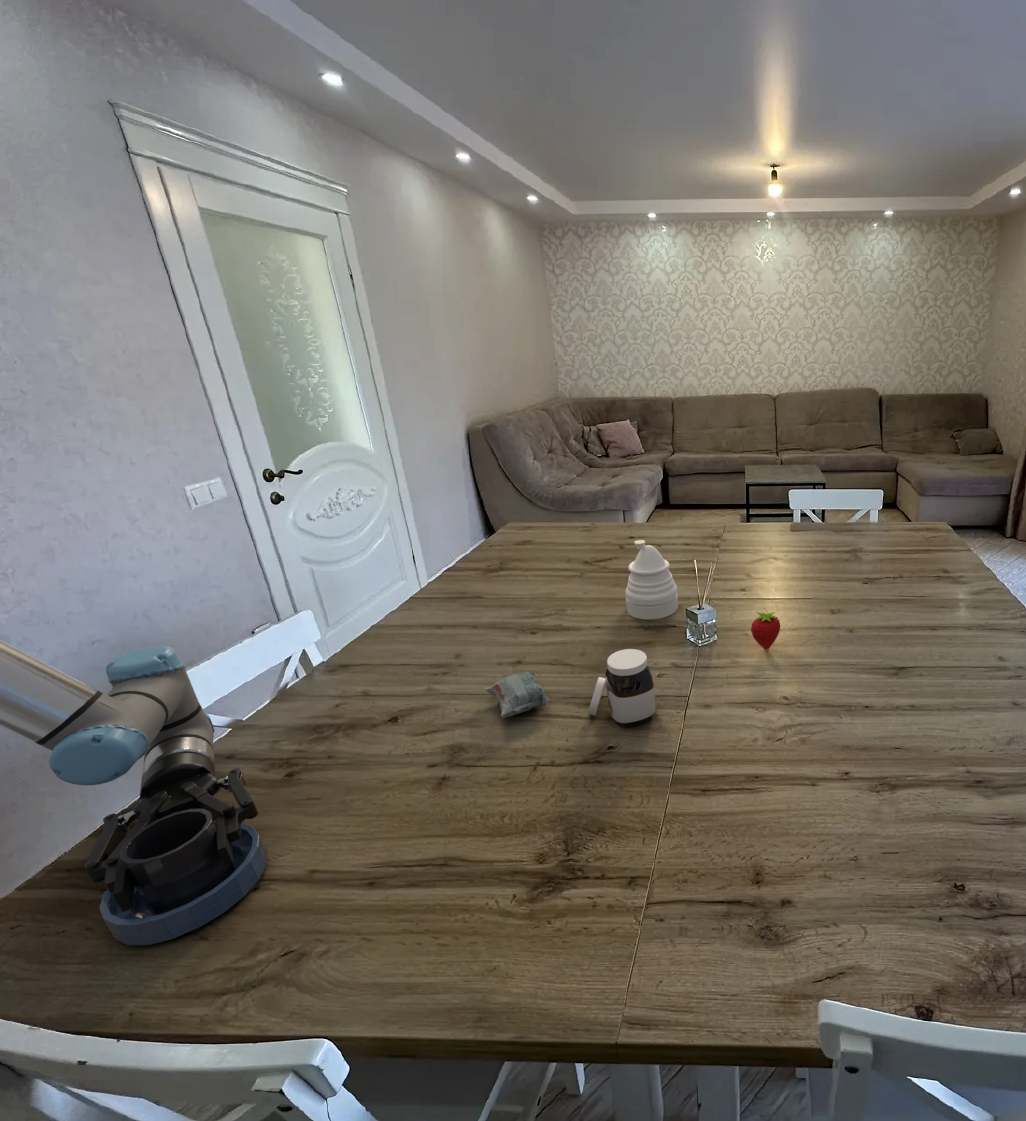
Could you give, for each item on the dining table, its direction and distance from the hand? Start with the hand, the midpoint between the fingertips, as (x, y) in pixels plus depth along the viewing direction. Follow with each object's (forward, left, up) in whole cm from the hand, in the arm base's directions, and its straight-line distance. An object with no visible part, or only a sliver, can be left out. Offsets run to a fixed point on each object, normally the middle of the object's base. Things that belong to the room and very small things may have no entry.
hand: (176, 878), depth 67 cm
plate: (-3, +4, -7) cm, 8 cm away
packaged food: (+23, +43, -7) cm, 49 cm away
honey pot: (+42, +84, -7) cm, 94 cm away
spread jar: (+43, +40, -7) cm, 59 cm away
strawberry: (+70, +63, -7) cm, 94 cm away
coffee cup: (-3, +4, -6) cm, 8 cm away
